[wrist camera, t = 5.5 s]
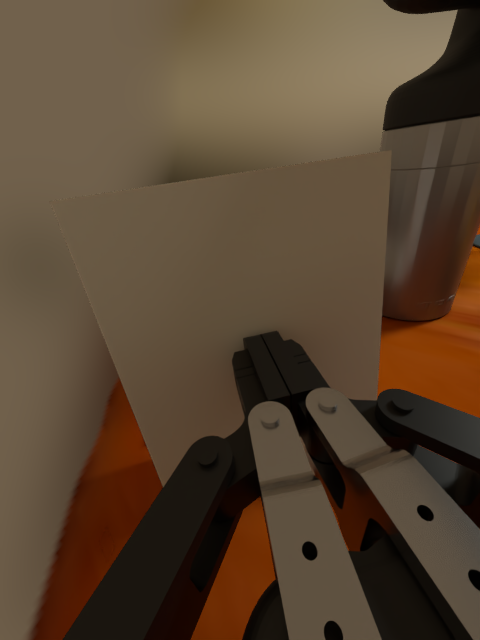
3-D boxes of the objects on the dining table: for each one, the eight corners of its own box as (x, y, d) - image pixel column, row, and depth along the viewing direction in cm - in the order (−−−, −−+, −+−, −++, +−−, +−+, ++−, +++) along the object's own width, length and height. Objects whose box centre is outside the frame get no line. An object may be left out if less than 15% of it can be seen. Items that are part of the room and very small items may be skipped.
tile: (177, 452, 18) (93, 207, 12) (336, 409, 20) (332, 169, 14) (174, 516, 14) (49, 201, 8) (373, 457, 16) (391, 149, 10)
